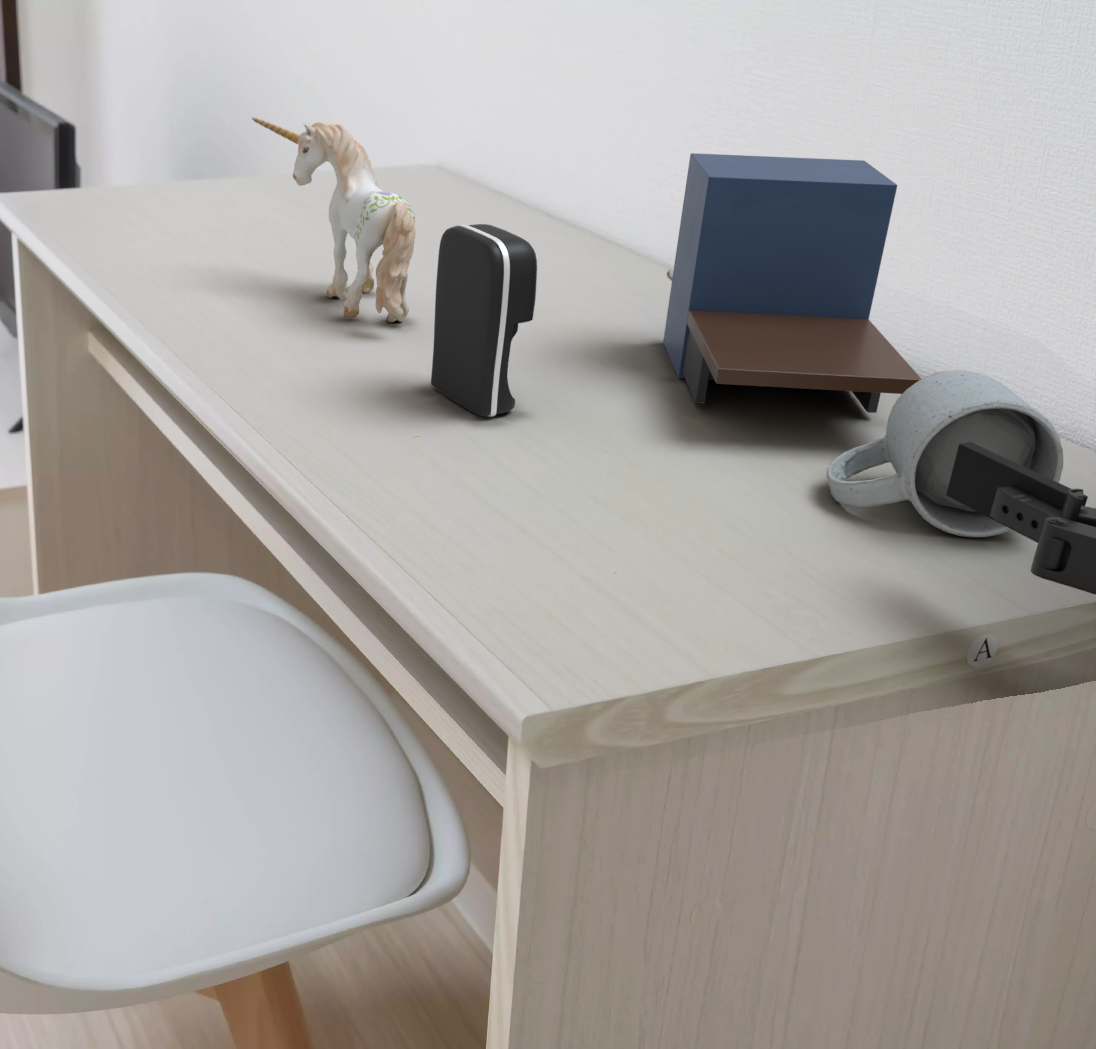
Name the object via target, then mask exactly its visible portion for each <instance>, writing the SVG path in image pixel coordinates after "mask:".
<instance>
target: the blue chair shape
mask: <svg viewBox="0 0 1096 1049" xmlns="http://www.w3.org/2000/svg"><path fill="white" fill-rule="evenodd" d="M687 168H688V169H687V174H686V180H685V181H686V183H685V189H684V195H683V196H684V197H683V203H682V208H681V209H682V211H681V216H680V224H679V230H678V236H677V237H678V238H677V244H676V252H675V257H674V265H673V270H672V271H673V272H672V279H671V286H670V291H669V292H670V293H669V297H668V298H669V300H668V304H667V305H668V306H667V313H666V319H665V326H664V333H663V340H662V343H663V345H664V348H665V351H666V352H667V354H668V357H669V360H670V361H671V364H672V367H673V369H674V371H675V374H676V376H677V378H678V379H684V380H685V382H686V384H687V386H688V388H689V390H690V391H689V392H690V393H691V395H692V397H693V400H694V402H695V404H696V403H697V404H705V402H706V397H707V390H708V385H709V384H708V383H709V381H714V382H715V384H717V385H734V386H750V387H767V388H768V387H769V388H786V389H787V388H789V389H805V390H823V391H839V392H840V391H842V392H852V394H853V395H854V397H855V398H856V399H857V401H858V402H859V403H860V404H861V406H862V407H863V409H864V410H865V411H866V413H873V414H877V412H878V408H879V403H880V398H881V395H882V394H893V395H894V394H897V395H902V393H903V392H904V391H905V390H907V389H908V388H909V387H911V386H912V385H913V384H915V383H916V382H918V381H919V380H920V379H922V377H921V376H920V375H919V374H918V373H917V372H916V371H915V369H914V368H913V367H912V366H911V365H910V364H909V363H908V362H907V361H906V359H905V358H904V357H903V356H902V355H901V354H900V352H898V350H896V348H895V347H894V346H893V345H892V343H890V341H889V340H888V339H887V338H886V337H885V336H884V334H882V332H880V330H879V329H878V328H877V327H876V326H875V325H874V323H873V322H872V321H871V319H870V315H871V311H872V306H873V301H874V297H875V292H876V287H877V283H878V277H879V273H880V269H881V265H882V260H883V256H884V255H883V254H884V250H885V245H886V242H887V241H886V240H887V236H888V231H889V227H890V221H891V217H892V212H893V208H894V203H895V198H896V194H897V189H898V184H897V183H895V182H894V181H893V180H891V179H890V178H888V177H887V176H886V175H885V174H884V173H882V172H881V171H879V170H878V169H876V168H875V167H873V165H871V163H868V162H867V161H866V160H861V159H836V158H835V159H834V158H814V157H813V158H811V157H791V156H789V157H788V156H765V155H745V154H744V155H743V154H721V153H719V154H716V153H697V152H696V153H692V152H691V153H690V155H689V161H688V167H687Z"/></svg>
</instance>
